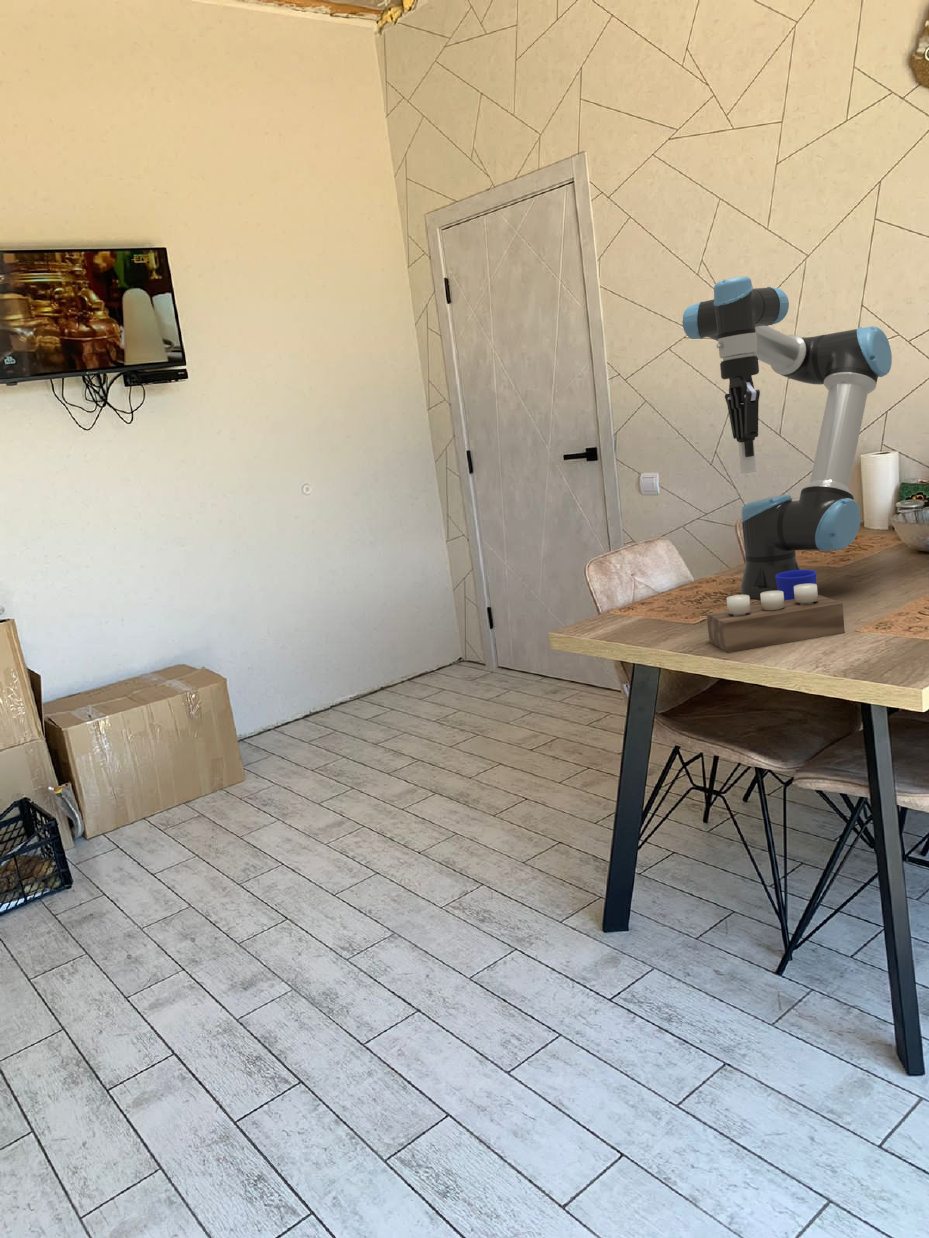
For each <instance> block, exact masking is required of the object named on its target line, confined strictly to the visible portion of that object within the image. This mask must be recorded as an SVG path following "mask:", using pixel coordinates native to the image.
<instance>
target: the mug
mask: <svg viewBox="0 0 929 1238" xmlns="http://www.w3.org/2000/svg"><path fill="white" fill-rule="evenodd" d="M775 577H776V583H777V589H778V591H783V593H784V601H785V600H791V599H795V597H794V586H795V585H799V584H809V583H810V584H817V571H816V570H812V569H800V570H792V571H786V572H781V573H778V574H777V575H776V576H775Z"/></svg>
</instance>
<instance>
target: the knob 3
mask: <svg viewBox="0 0 929 1238" xmlns="http://www.w3.org/2000/svg"><path fill="white" fill-rule="evenodd" d="M818 595H819V594H818V585H817V583H816V584H810V583H809V584H799V585H795V586H794V597H795V602H797V603H800V605H802V606H803V605H809V604H813V602H815V601H817V600H818Z"/></svg>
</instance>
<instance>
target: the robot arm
mask: <svg viewBox="0 0 929 1238" xmlns="http://www.w3.org/2000/svg"><path fill="white" fill-rule="evenodd" d="M752 282H753V281H752V279H751V278H750V277H748V276H738V277H736V276H735V277H732V278H728V279H723V280H719V281H718V282H716V283H715V284H714V286H713V299H709V300H706V301H699V302H698V303H694V304H691V305H689V306H688V307H687V308H686V309H685V310H684V312H683V314H682V323H681V324H682V327H683V329H682V330H683V331H684V333H685V335H686V336H687V337H688V338H689V339H692V340H696V339H697V340H702V339H705V338H710V339H711V340H714V341H716V342H718V343H717V344H716V348H717V349H718V355H719V359H722V360H721V361H720V362H719V367H720V369H719V370H720V377H721V379H722V380H729V385H728V393H725V394H724V400H725V403H726V406H727V410H728V415H729V422H730V426H731V431H732V433H731V434H732V438H733V439H735V440H736V442H737V444H738V455H739V464H740V465H739V466H740V473H741V475H742V474H743V475H745V474H751V473H756V472H757V465H756V454H755V444H754V443H755V442H754V441H755V439H756V438H758V437H759V407H760V406H759V401H760V395H761V394H760V393H761V391H760V389H755V386H754V382H753V378H752V377H753V376H755V375H759V373H760V366H759V361H761V362H762V363H765V364H766V365H769V366H770V368H771V370H772V371H773V372H774V373H776V374H779V375H781V377H785V378H788V379H790V380H793V381H797V382H800V383H805V384H811V385H819V386H820V385H824V387H825V388H826V389H827V390H828V393H827V397H826V403H825V406H824V407H825V408H824V411H823V417H822V422H821V427H820V431H819V432H820V433H819V437H818V441H817V446H816V451H815V457H814V461H813V465H812V469H811V470H812V471H811V475H810V479H809V483H808V484H807V485H805V486H804V487H802V488H801V491H800V493H799V494H800V496H799V500H794V501H793V498H792V495H790V494H783V495H778V496H777V495H776V496H772V497H768V498H762V499H758V500H755V501H752V502H748V503H746V504H744V505H743V507H742V509H741V524H742V534H743V535H742V536H743V546H744V555H745V567H744V570H743V576H742V579H741V584H740V595H749V597H750V599H755V600H757V599H758V600H761V596H760V594H761V593H762V592H766V591H778V589H777V583H776V577H775V576H776V575H777V574H778V573H781V572H786V571H792V570H801V567H800V566H799V563H798V561H797V555H796V553H797V552H796V551H803V552H804V551H805V552H806V551H808V552H809V551H811V552H813V551H814V552H815V551H816V552H817V551H820V552H832V551H841V550H844V549H846V548H848V546H850V545H851V544H852V543H853V542H854V540H855V539H856V537H857V535H858V533H859V530H860V526H861V520H862V518H861V517H862V516H860V514H861V508H860V506H859V504H858V502H856V500H854V499H855V496H854V493H852V491H851V490H850V483H851V478H852V473H853V469H854V467H853V466H854V463H855V458H856V453H857V447H858V443H859V439H860V434H861V429H862V424H863V418H864V413H865V408H866V404H867V403H866V402H867V398H868V395H869V394H871V393H872V392H874V391H875V390H876V388H877V382H878V379H879V378H882V377H883V378H884V376H887V375H888V374H889V372H890V371H891V370H892V369H891V368H892V365H893V364H892V362H893V359H892V358H893V357H892V356H893V355H892V349H891V348H892V347H891V345H890V342H889V341H890V340H889V339H888V337H887V334H885V332H884V331H883V330H882V329H881V328H880V327H878V326H866V327H861V326H859V327H858V328H856V329H849V330H843V331H837V332H833V333H828V334H821V335H816V336H808V337H804V336H803V337H802V336H799V335H796V334H785V333H783V332H780V331H779V330H777V329H775V328H773V327H770V326H773V325H776V324H778V323H780V322H782V321H783V320H784V319H785V318H786V316H787V314H788V312H789V308H790V302H789V298H788V295H787V294H786V292H785V291H784V290H783V289H781V288H778V287H771V286H767V287H759V288H757V287H755V288H754V286H753V283H752Z"/></svg>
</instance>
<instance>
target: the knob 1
mask: <svg viewBox="0 0 929 1238" xmlns="http://www.w3.org/2000/svg"><path fill="white" fill-rule="evenodd" d="M750 600H751V598H750V597H749V595H741V594H735V595H729V596H727V597H726V607H727V610H728V613H729V614H733V617H739V616H744V615H746V613H749V612H750V611H751V608H750V606H751V601H750Z"/></svg>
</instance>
